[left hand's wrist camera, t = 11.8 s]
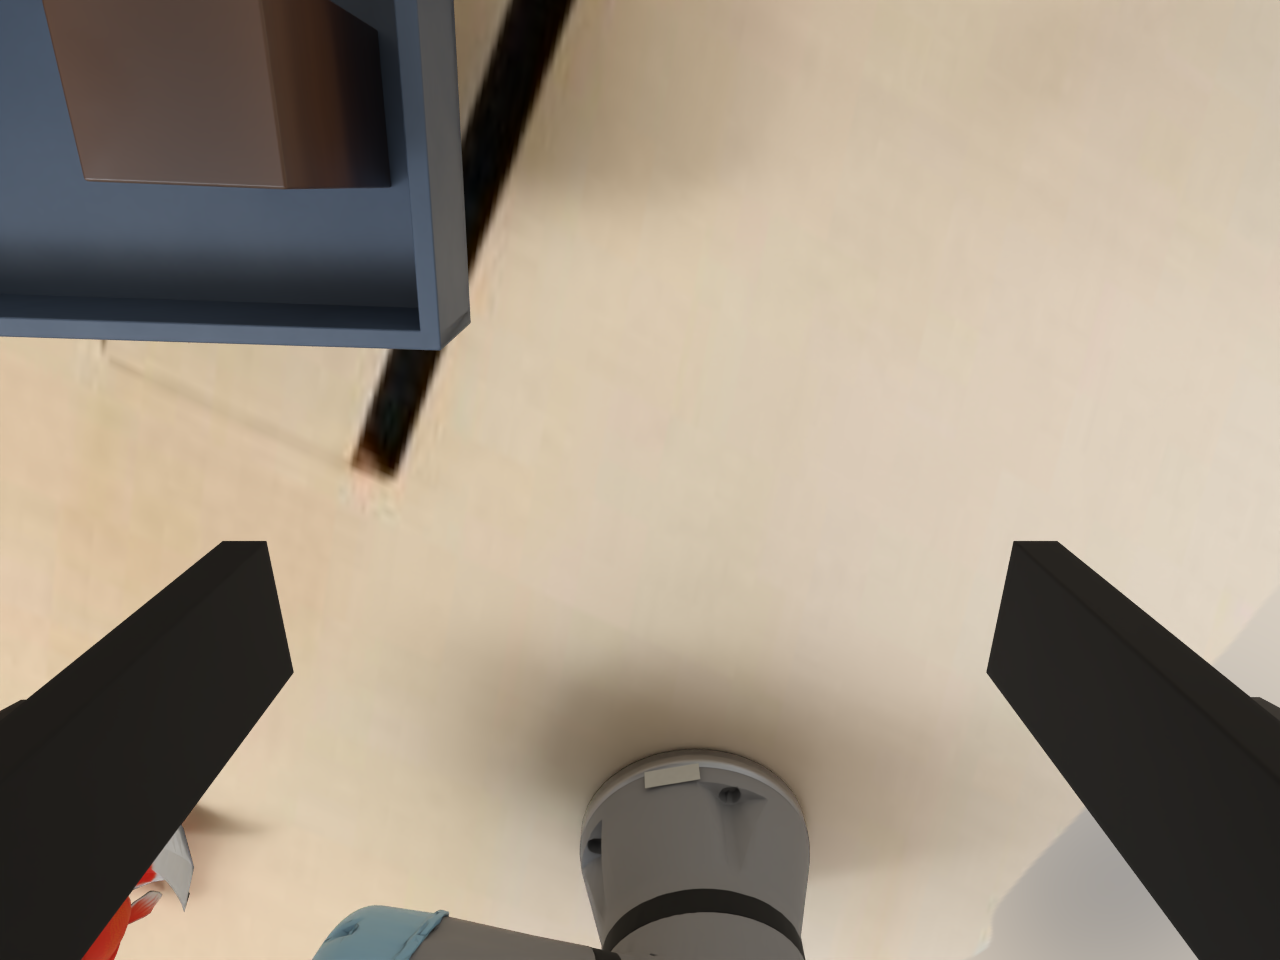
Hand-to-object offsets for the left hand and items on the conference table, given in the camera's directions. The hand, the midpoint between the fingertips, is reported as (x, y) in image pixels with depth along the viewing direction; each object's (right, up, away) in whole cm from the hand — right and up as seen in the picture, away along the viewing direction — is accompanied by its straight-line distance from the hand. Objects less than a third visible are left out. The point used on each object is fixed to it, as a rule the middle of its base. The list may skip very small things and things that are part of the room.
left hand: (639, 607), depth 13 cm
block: (-10, +14, +10) cm, 20 cm away
